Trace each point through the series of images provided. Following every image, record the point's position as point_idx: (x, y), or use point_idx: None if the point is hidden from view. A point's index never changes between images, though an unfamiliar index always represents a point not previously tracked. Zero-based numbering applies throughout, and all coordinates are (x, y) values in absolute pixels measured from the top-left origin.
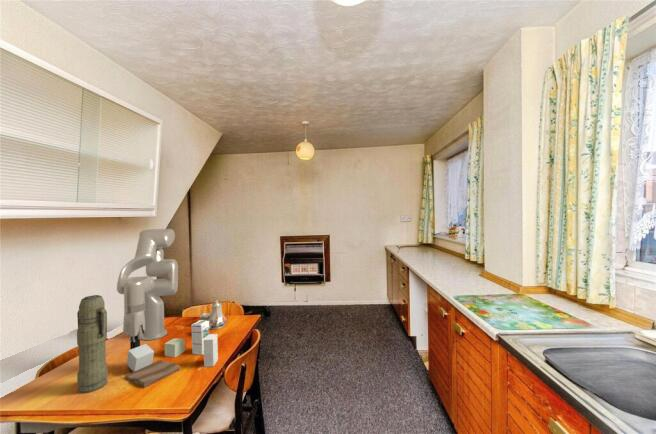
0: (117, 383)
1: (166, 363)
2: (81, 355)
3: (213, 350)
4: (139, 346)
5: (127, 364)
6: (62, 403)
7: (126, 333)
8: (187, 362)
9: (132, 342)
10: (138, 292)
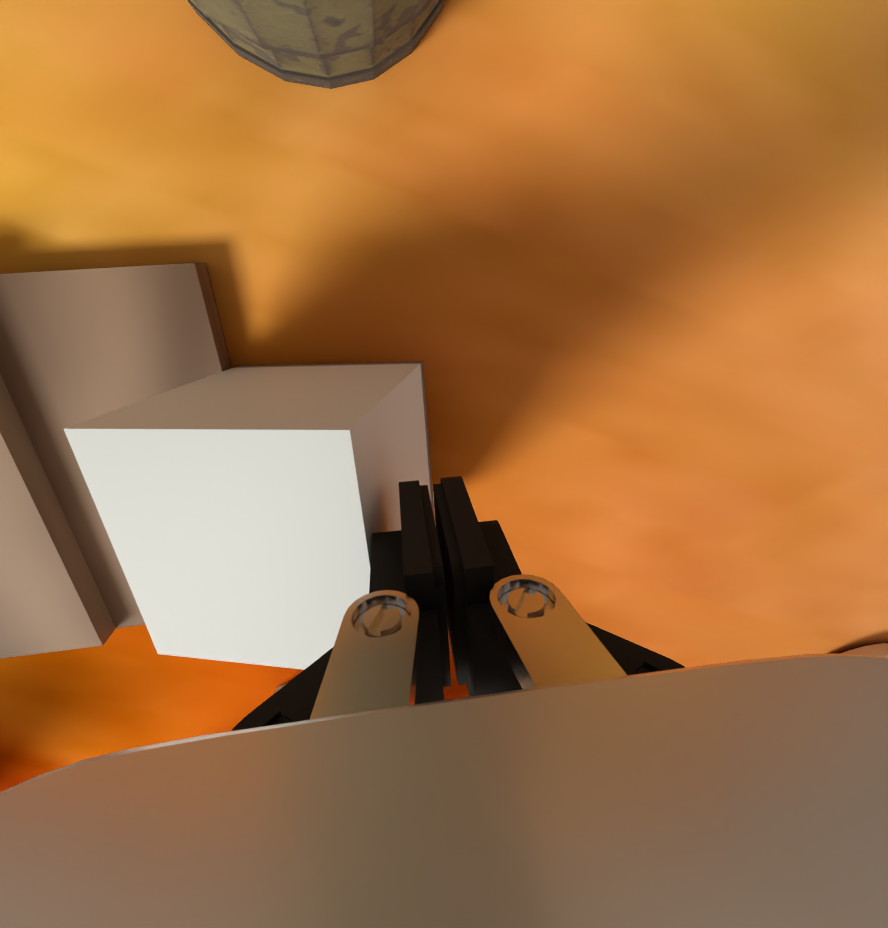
0: (124, 143)
1: (66, 616)
2: None
3: None
4: None
5: (395, 366)
6: None
7: (658, 722)
8: (70, 711)
9: (404, 578)
10: None
